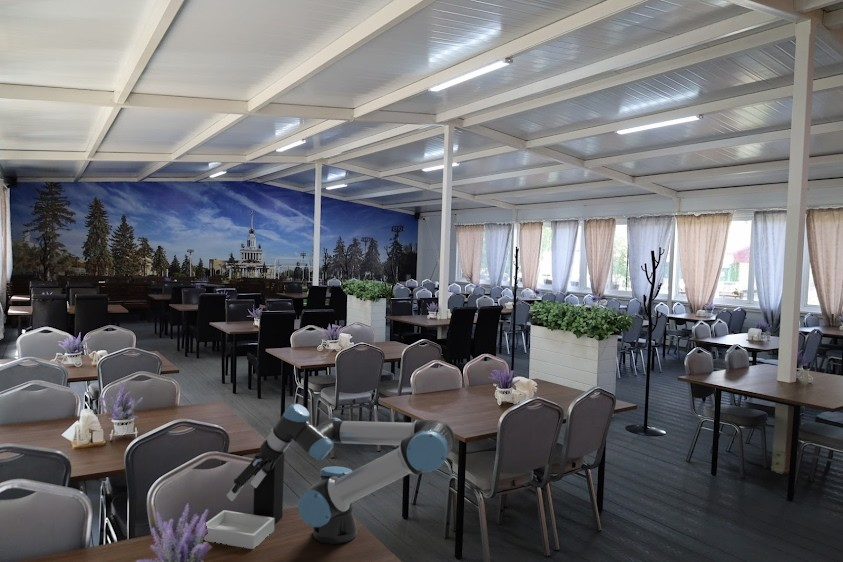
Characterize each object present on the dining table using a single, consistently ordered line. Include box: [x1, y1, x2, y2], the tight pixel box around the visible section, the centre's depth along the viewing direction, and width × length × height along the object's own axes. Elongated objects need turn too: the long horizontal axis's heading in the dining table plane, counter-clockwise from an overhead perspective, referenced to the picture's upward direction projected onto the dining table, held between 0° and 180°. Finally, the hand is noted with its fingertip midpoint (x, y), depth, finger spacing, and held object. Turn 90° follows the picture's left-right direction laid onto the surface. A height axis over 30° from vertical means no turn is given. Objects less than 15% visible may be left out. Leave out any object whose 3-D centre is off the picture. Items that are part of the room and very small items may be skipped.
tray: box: [204, 509, 275, 550], centre depth 203 cm, size 20×14×4 cm
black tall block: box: [252, 451, 285, 526], centre depth 215 cm, size 8×8×28 cm
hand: (241, 491), depth 200 cm, fingers open, 13 cm apart
